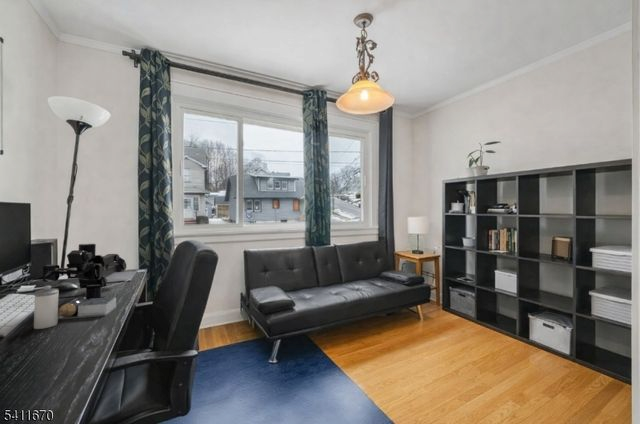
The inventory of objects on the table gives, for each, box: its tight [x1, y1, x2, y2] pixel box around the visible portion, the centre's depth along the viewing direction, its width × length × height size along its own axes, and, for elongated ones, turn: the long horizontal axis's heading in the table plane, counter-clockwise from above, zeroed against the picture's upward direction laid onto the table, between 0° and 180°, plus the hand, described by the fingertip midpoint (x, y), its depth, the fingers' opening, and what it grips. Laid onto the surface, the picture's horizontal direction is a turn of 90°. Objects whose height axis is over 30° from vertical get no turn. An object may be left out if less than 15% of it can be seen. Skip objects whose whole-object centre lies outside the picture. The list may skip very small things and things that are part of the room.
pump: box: [33, 285, 60, 330], centre depth 97 cm, size 6×6×14 cm
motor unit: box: [58, 296, 117, 321], centre depth 109 cm, size 10×16×6 cm, turn 107°
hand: (60, 277), depth 101 cm, fingers open, 9 cm apart
